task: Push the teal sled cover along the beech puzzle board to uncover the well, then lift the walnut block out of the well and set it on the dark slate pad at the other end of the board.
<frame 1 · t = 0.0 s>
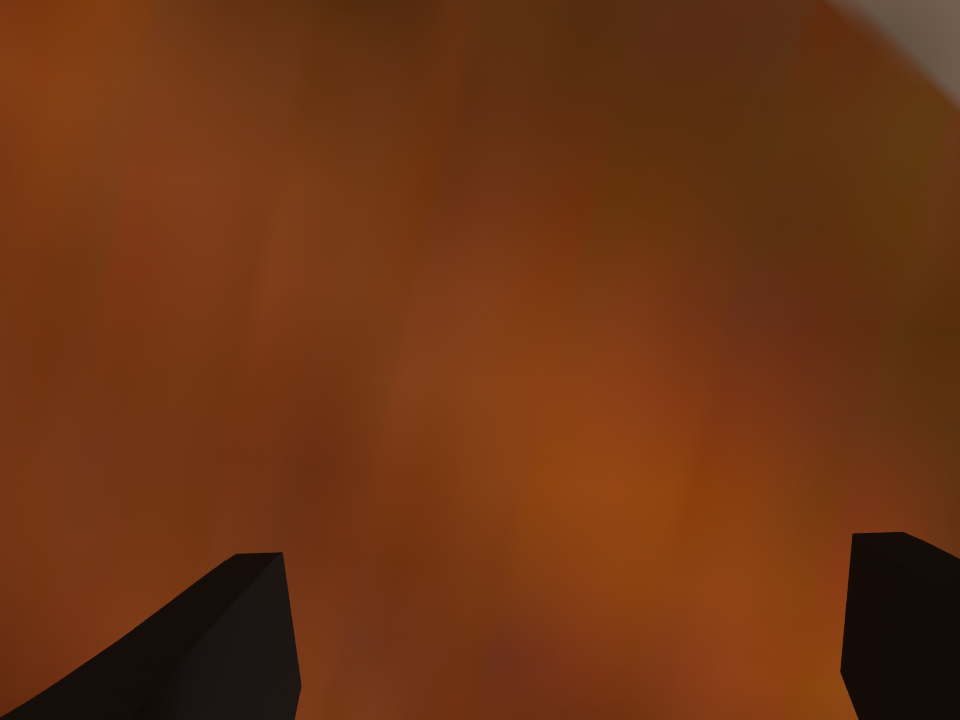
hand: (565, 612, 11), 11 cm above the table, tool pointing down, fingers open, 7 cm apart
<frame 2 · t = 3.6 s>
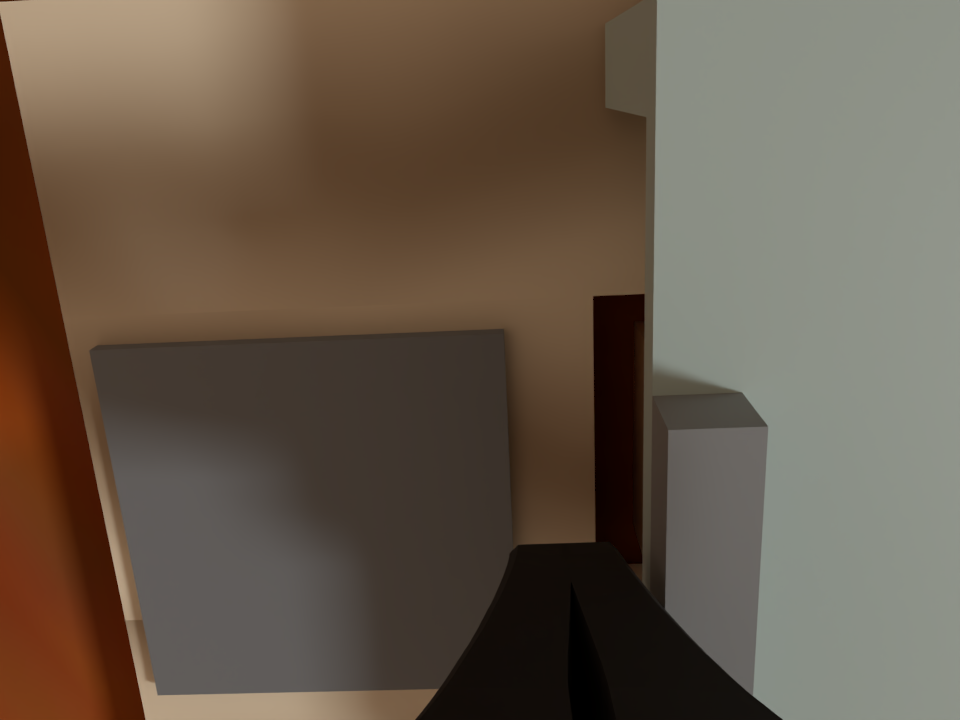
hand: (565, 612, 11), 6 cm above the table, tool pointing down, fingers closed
slate pad: (335, 484, 17), resting on puzzle board
walnut block: (742, 421, 16), resting in puzzle board
sled cover: (914, 540, 12), point 4 cm above the table, slide at 1.2 cm, touching gripper
puzzle board: (893, 511, 17), on the table
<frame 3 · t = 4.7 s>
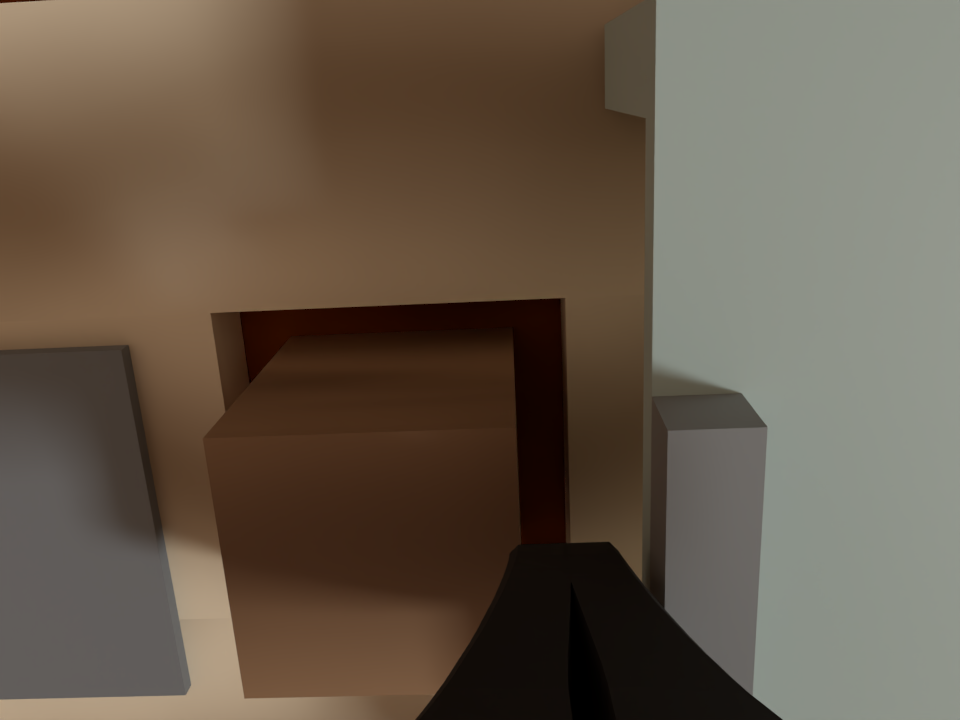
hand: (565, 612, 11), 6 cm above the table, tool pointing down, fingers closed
slate pad: (20, 495, 17), resting on puzzle board
walnut block: (409, 433, 17), resting in puzzle board
sled cover: (913, 540, 12), point 5 cm above the table, slide at 7.7 cm, touching gripper
puzzle board: (565, 522, 17), on the table
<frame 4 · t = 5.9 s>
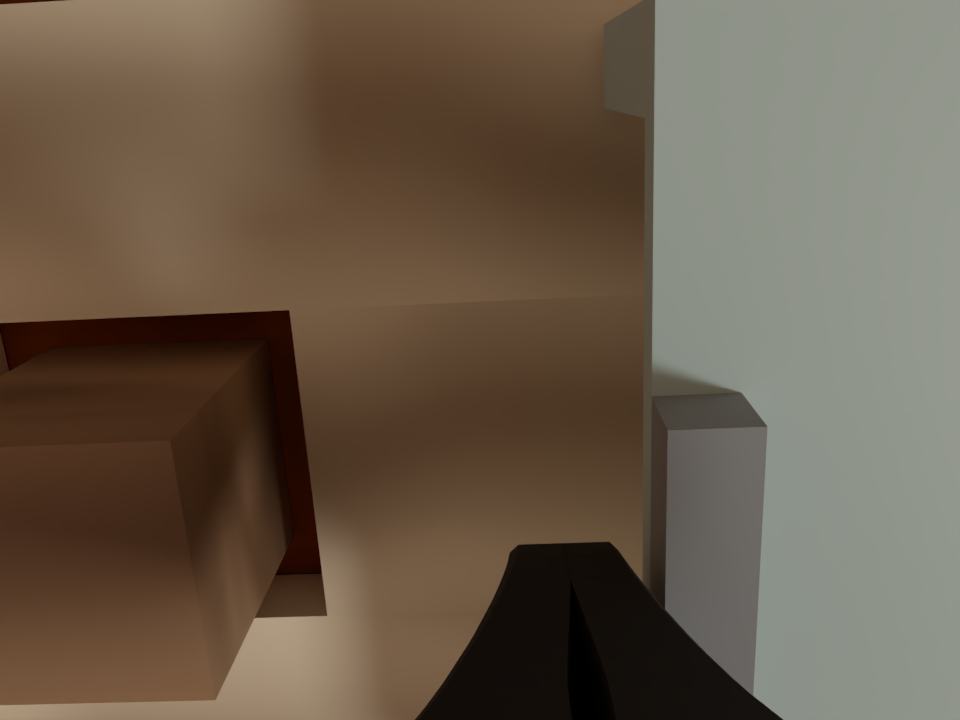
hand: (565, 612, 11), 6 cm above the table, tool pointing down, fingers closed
walnut block: (177, 442, 17), resting in puzzle board
sled cover: (914, 539, 12), point 5 cm above the table, slide at 12.3 cm, touching gripper
puzzle board: (336, 529, 17), on the table
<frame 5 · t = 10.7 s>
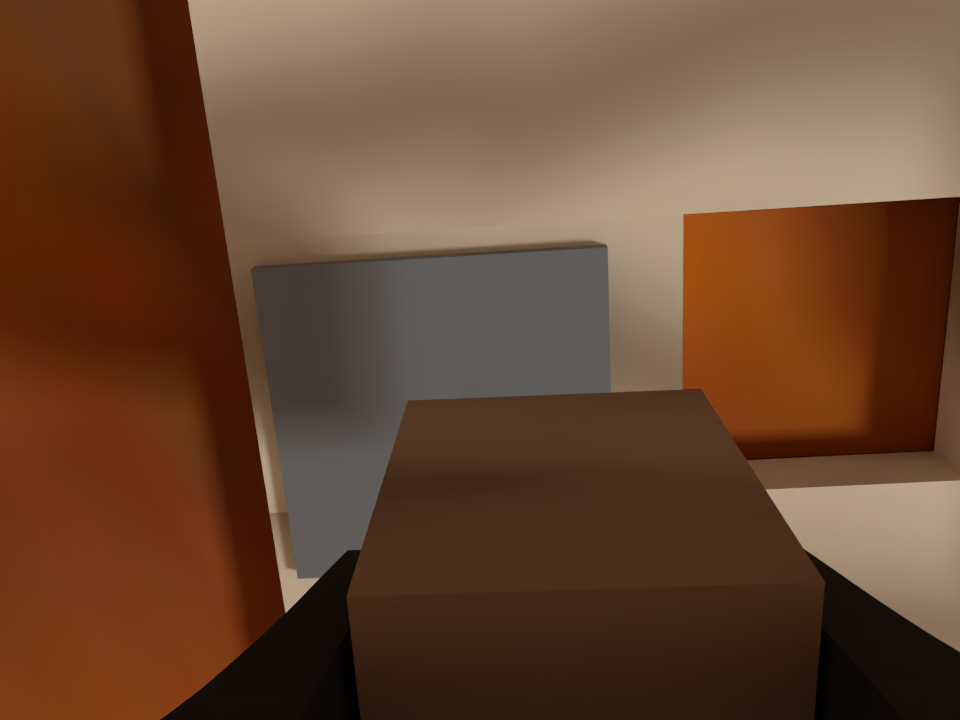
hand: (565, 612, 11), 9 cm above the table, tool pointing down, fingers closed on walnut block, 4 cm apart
slate pad: (447, 394, 19), resting on puzzle board
walnut block: (556, 525, 13), point 7 cm above the table, touching gripper
puzzle board: (938, 410, 19), on the table
when the fingers open (4 cm above the table, at t = 12.2 s): walnut block stays where it is, resting on slate pad.
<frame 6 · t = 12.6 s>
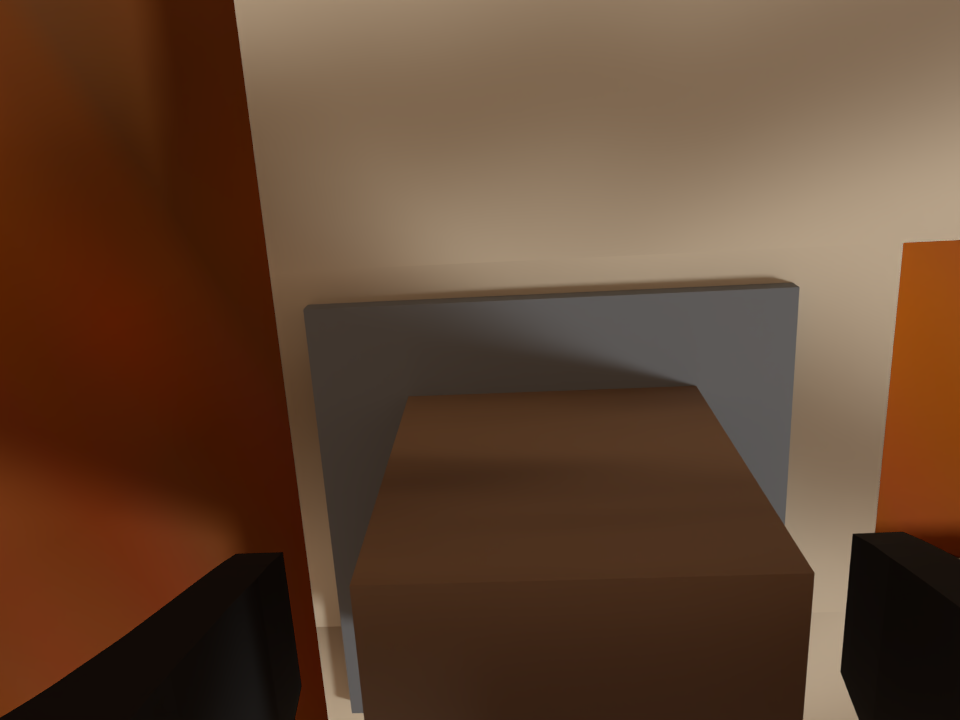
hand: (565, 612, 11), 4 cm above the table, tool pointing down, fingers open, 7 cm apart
slate pad: (549, 469, 15), resting on puzzle board
walnut block: (554, 519, 13), point 2 cm above the table, touching slate pad
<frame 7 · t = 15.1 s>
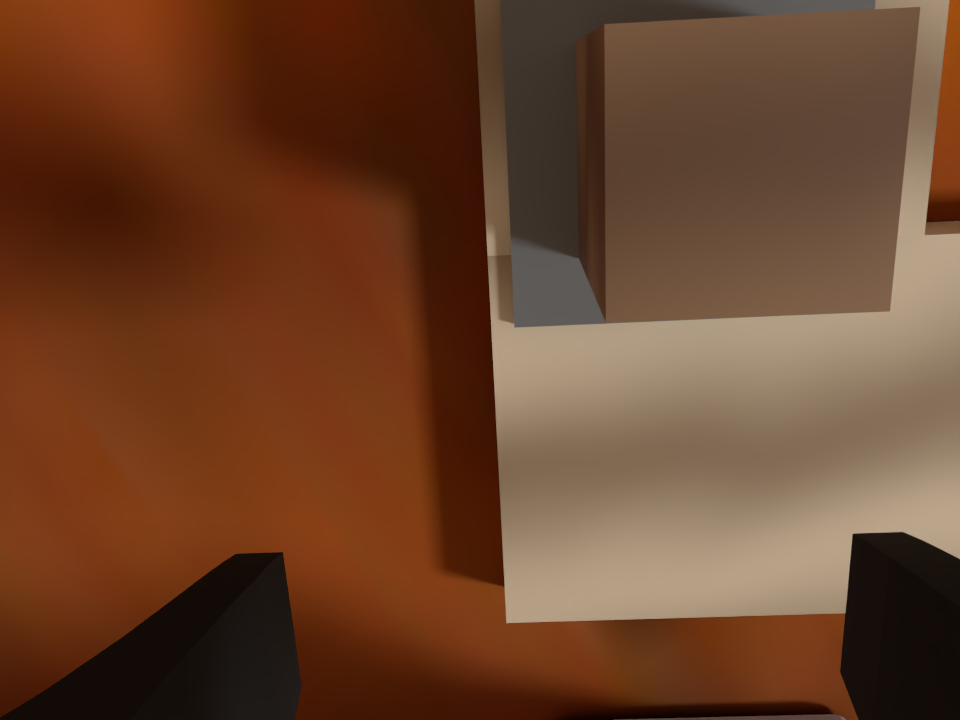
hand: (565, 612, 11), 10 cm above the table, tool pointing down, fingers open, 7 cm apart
slate pad: (667, 143, 19), resting on puzzle board
walnut block: (683, 148, 17), point 2 cm above the table, touching slate pad
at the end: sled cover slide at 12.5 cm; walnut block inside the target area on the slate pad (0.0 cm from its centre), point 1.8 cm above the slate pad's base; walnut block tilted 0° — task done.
